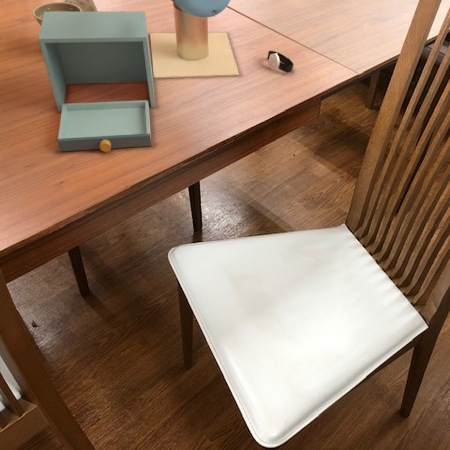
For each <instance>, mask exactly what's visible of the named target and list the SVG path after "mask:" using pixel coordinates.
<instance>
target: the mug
mask: <svg viewBox="0 0 450 450" xmlns="http://www.w3.org/2000/svg"><path fill="white" fill-rule="evenodd" d="M63 2H65V3H71V4H74V5H77V6H79V7H80V8H81V10H82V12H99V10H98V8H97V6H96V4H95V2H94V0H64V1H63Z"/></svg>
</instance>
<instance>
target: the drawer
mask: <svg viewBox="0 0 450 450" xmlns="http://www.w3.org/2000/svg"><path fill="white" fill-rule="evenodd" d="M149 105H150V104H149V100H148V99H144V100H143V99H142V100H118V101H99V102H98V101H96V102H95V101H94V102H74V103H73V102H72V103H70V102H69V103H64V104H63V105H62V111H60V113H61V114H60V120H59V128H58V135H57V138H56V143H57V147H58V151H59V152H72V151H74V152H76V151H89V150H90V151H91V150H100V151H102V152H106V153H108V152H110V151H111V149H120V148H137V147H152V133H151V132H152V131H151V119H150V118H151V117H150V106H149Z"/></svg>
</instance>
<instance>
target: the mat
mask: <svg viewBox="0 0 450 450" xmlns="http://www.w3.org/2000/svg"><path fill="white" fill-rule="evenodd" d="M149 39H150V50H151V51H150V52H151V64H152V75H153V80H154V79H181V78H182V79H186V78H214V77H239V76H240V73H239V70H238V66H237V63H236V59H235V57H234V52H233V49H232V47H231V43H230V40H229V36H228V33H227V32H220V31H219V32H218V31H217V32H216V31H215V32H208V48H209V54H208V56H207V57H206V58H204V59H201V60H186V59H183V58H181V57H179V56H178V54H177V44H176V32H153V33H152V32H151V33H149Z"/></svg>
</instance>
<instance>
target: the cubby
mask: <svg viewBox="0 0 450 450" xmlns="http://www.w3.org/2000/svg"><path fill="white" fill-rule="evenodd" d="M37 40H38V43H39V47H40V51H41V55H42V58H43V61H44V65H45V68H46V73H47V76H48V80H49V83H50V86H51V91H52V93H53V97H54V102H55V104H56V108H57V111H58V112H62V105H63V104H65V98H66V91H67V85H77V84H79V85H81V84H106V83H107V84H109V83H134V82H135V83H137V82H147V85H148V94H149V102H150V103H149V104H150V108H156V99H155V89H154V88H155V87H154V86H155V85H154V74H153V66H152V57H151V51H150V50H151V49H150V44H149V43H150V41H149V35H148V26H147V17H146V11H144V10H143V11H141V10H140V11H135V10H134V11H133V10H132V11H131V10H130V11H127V10H126V11H98V12H44V15H43V20H42V24H41V25H40V27H39V34H38V38H37Z"/></svg>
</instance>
